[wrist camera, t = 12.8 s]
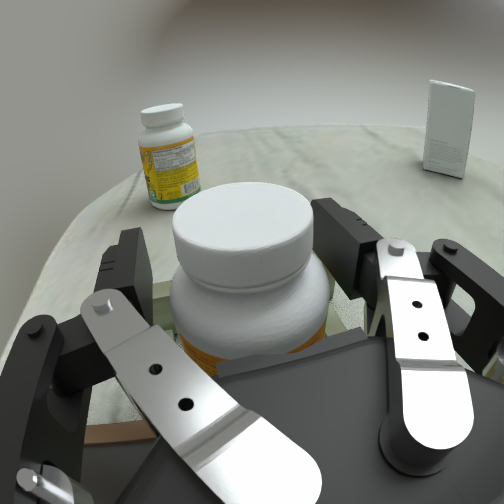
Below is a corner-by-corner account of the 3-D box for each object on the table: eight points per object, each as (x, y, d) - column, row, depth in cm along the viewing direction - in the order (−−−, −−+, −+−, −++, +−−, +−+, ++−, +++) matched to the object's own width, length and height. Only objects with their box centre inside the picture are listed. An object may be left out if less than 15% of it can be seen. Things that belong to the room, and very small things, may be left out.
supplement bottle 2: (333, 412, 13) (381, 233, 8) (223, 454, 12) (159, 298, 6) (285, 334, 17) (286, 162, 12) (191, 364, 16) (140, 193, 10)
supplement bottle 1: (202, 207, 30) (189, 107, 25) (147, 215, 30) (127, 118, 24) (201, 184, 35) (190, 99, 29) (153, 191, 34) (138, 108, 28)
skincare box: (459, 169, 37) (471, 88, 30) (463, 181, 34) (477, 91, 27) (420, 160, 40) (429, 78, 33) (421, 170, 36) (431, 80, 29)
